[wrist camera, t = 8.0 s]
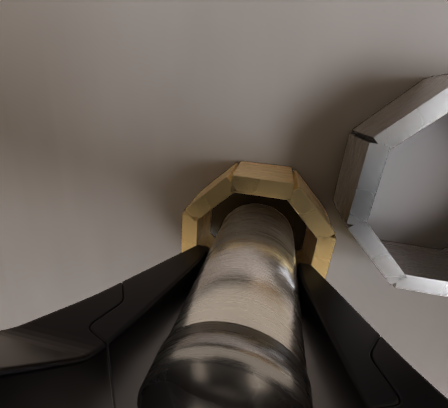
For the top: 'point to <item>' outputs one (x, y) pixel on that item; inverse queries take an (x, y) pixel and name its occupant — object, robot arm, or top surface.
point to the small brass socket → (268, 187)
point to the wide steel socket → (370, 177)
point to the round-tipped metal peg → (237, 324)
